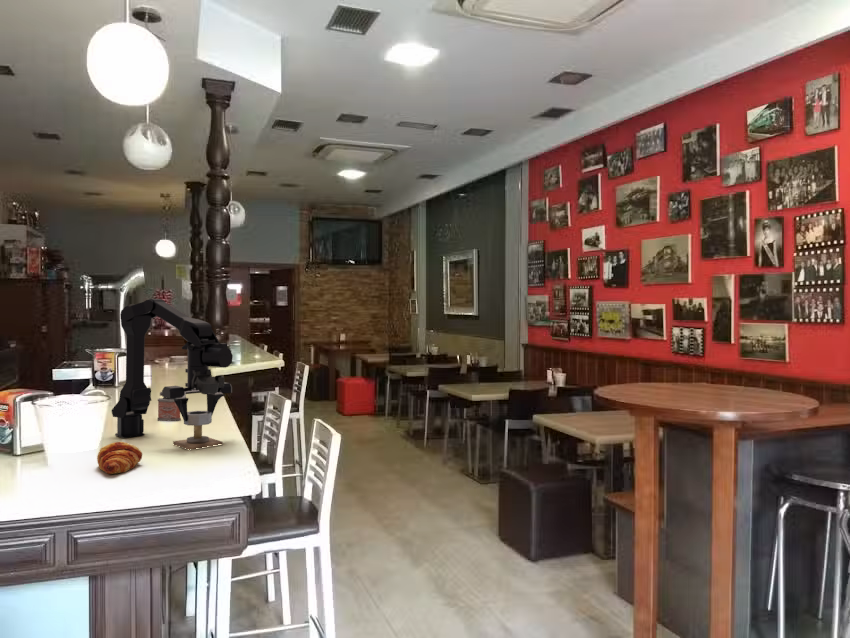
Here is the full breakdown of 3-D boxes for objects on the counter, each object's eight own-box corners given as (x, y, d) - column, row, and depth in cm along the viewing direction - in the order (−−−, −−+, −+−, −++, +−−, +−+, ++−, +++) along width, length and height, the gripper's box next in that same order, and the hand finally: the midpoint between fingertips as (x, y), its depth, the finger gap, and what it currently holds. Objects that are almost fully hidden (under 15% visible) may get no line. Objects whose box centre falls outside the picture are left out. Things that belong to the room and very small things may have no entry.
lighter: (182, 419, 224) (182, 391, 224) (177, 421, 221) (178, 392, 220) (160, 419, 225) (160, 390, 225) (155, 420, 221) (155, 392, 221)
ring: (191, 426, 180) (191, 415, 180) (180, 423, 185) (180, 412, 185) (215, 423, 185) (215, 413, 185) (203, 420, 190) (203, 409, 190)
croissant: (113, 471, 169) (97, 445, 168) (149, 451, 172) (134, 425, 171) (99, 492, 149) (82, 462, 148) (141, 469, 152) (124, 440, 151)
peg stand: (189, 450, 178) (189, 425, 178) (173, 444, 185) (173, 420, 185) (222, 445, 185) (222, 420, 185) (205, 439, 192) (205, 416, 192)
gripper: (179, 370, 172) (179, 428, 173) (241, 365, 186) (241, 419, 186) (161, 366, 180) (161, 422, 180) (222, 363, 193) (222, 414, 194)
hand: (197, 419), depth 185 cm, fingers closed on ring, 7 cm apart
